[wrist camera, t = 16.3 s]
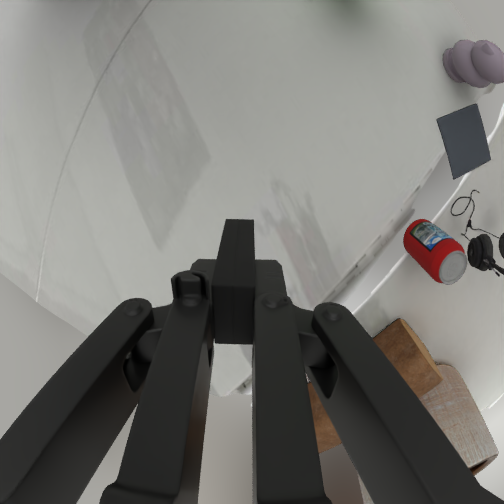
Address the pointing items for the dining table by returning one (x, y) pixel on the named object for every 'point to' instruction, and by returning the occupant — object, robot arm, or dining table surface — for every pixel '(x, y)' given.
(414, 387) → the bread
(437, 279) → the beverage can
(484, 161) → the placemat
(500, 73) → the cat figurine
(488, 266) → the headphones
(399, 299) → the dining table surface
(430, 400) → the planter
